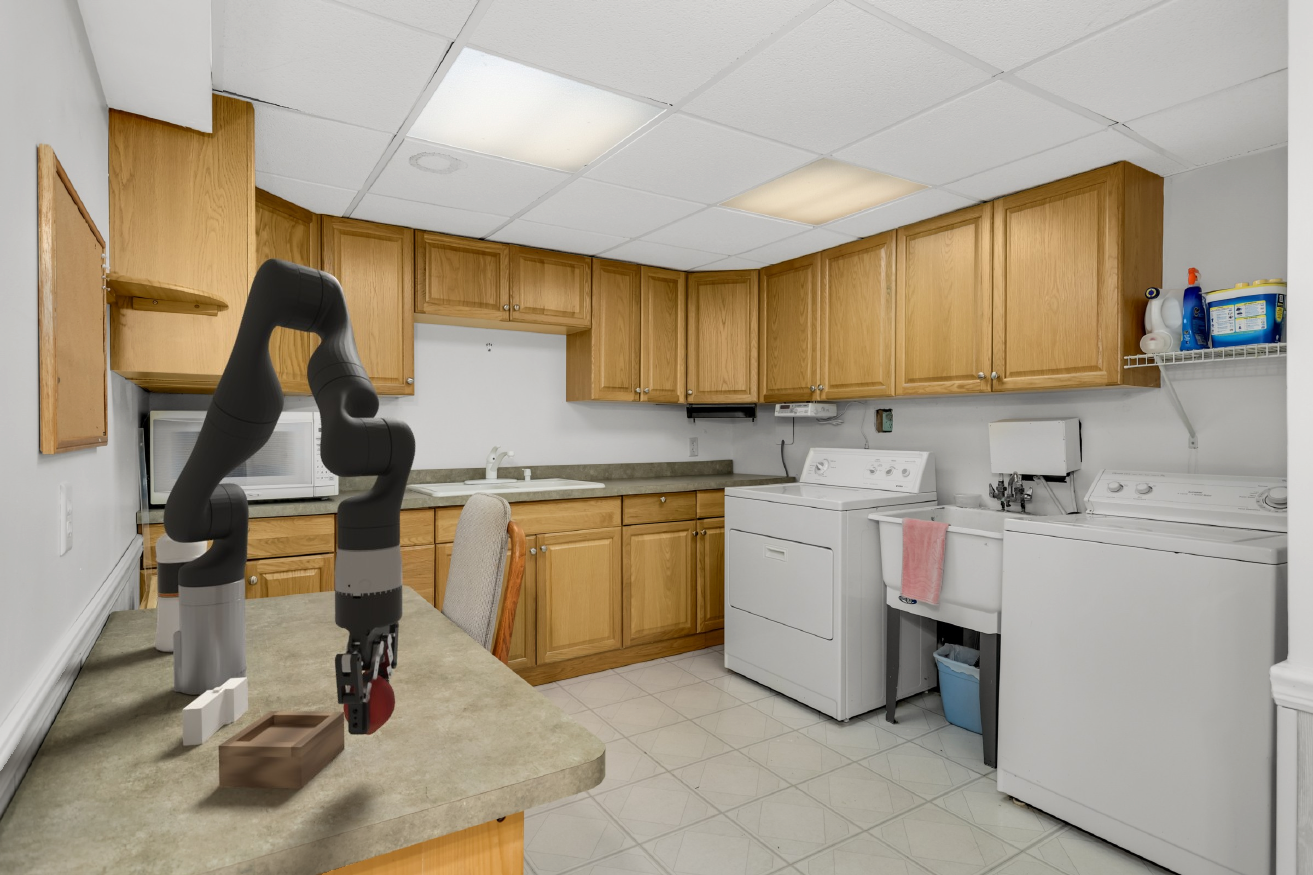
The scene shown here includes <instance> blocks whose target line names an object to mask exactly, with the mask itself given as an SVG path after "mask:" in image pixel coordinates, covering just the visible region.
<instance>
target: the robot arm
mask: <svg viewBox="0 0 1313 875" xmlns="http://www.w3.org/2000/svg"><path fill="white" fill-rule="evenodd" d="M341 285H342V284H340V282H339V280H338V279H337V278H336V277H335V276H334V275H333V274H330V273H329V272H326V271H325V270H320V269H317V268H314V267H309V266H306V265H302V264H298V263H294V262H292V261H289V260H288V261H287V260H284V259H279V258H269V259H266V260H265V261H263V263H262V264H261V265H260V267H259V268H258V270H256V273H255V275H254V277H253V281H252V283H251V286H250V289H249V293H248V296H247V298H246V299H247V300H246V303H245V306H244V310H243V314H242V316H241V321H240V325H239V327H238V331H237V334H236V337H235V338H236V339H235V342H234V345H233V348H232V349H231V352H230V355H229V358H228V360H227V363H226V366H225V367H224V371H223V373H222V375H221V377H220V379H219V382H218V384H217V386H216V388H215V391H214V393H213V395H212V398H211V401H210V403H209V405H208V409H207V412H206V414H205V416H204V421H203V424H202V426H201V429H200V430H199V434H198V436H197V439H196V440H195V444H194V446H193V448H192V450H191V453H190V454H189V456H188V459H187V461H186V463H185V465H184V467H183V469H182V470H181V472H180V474H179V476H178V478H177V479H176V481H175V482H174V484H173V486H172V489H171V490H170V493H169V495H168V497H167V500H166V502H165V506H164V511H163V512H164V513H163V518H162V519H163V520H162V521H163V527H164V531H165V533H166V534H167V535H168V536H169V538H171V539H172V540H173V541H176V542H180V543H194V542H202V541H207V542H208V541H209V542H210V541H212V544H211V546H210V547H209V548H208V550H206V552H205V553H204V554H203V555H201V556H200V557H198V558H196V559H195V560H193V561H191V562H189V563H187V564H185V565H183V566H182V567H181V568H180V569H179V572H178V584H179V585H178V586H179V630H178V631H176V632H175V633H174V634H173V652H172V653H173V654H172V655H173V691H174V692H180V693H183V694H187V695H202V694H203V693H205V692H206V691H207V690H213V689H215V688H216V687H220V686H221V685H223V684H224V683H225V682H227V681H228V680H229V679H230V678H244V677H247V670H248V669H247V640H246V638H247V630H246V629H247V628H246V625H247V624H246V582H245V581H246V580H245V579H246V578H245V577H246V576H245V573H246V572H245V571H246V570H245V569H246V565H247V561H248V544H249V542H248V540H249V539H248V538H249V516H250V515H249V514H250V513H249V502H248V498H247V495H246V492H245V491H244V489H243V488H242V487H241V486H240V485H238V484H236V483H234V482H233V483H231V482H229V483H227V482H226V483H224V482H223V483H221V482H222V481H223V479H224V478H225V477H227V475H229V474H230V473H231V472H233V471H234V470H235V469H237V468H238V467H239V466H241V465H242V464H243V463H245V462H247V460H249V459H250V458H252V457H253V456H254V455H255V454H257V452H259V451H260V449H262V448H263V447H264V446H265V445H266V444H267V443H268V442H269V440H270V439H271V436H272V435H273V433H274V430H275V429H276V426H277V424H278V421H279V420H280V416H281V414H282V412H283V410H284V406H285V398H284V392H283V389H282V386H281V383H280V380H279V377H278V375H277V372H276V370H275V368H274V364H273V361H272V358H271V353H270V349H269V348H270V341H271V336H272V333H273V331H274V330H275V328H276V327H279V328H284V329H289V330H294V331H298V332H304V333H313V334H314V333H315V334H316V335H317V336H318V337H319V338H320V339H321V342H320V344H319V345H317V347H316V349H315V350H314V351H313V353H312V355H310V358H309V360H308V364H307V366H306V368H307V369H306V370H307V371H306V378H307V382H308V386H309V388H310V391H311V394H312V396H313V399H314V401H315V404H316V406H317V409H318V410H319V416H320V418H319V419H320V443H319V444H320V445H319V452H320V454H319V455H320V456H319V457H320V459H321V462H322V464H323V466H324V467H325V468H326V469H327V471H329V472H330V473H332V474H333V475H335V476H336V477H341V478H359V477H375V476H376V477H377V478H376V479H375V482H374V484H373V485H372V487H371V488H370V489H369V490H367V491H366V492H363V493H361V494H359V495H355V496H351V497H348V498H345V499H343V500H341V501H340V502H339V504H338V507H337V511H336V528H337V529H336V534H337V535H336V537H337V538H336V540H337V541H336V542H337V543H336V556H335V557H336V558H335V563H334V621H335V622H334V623H335V625H336V626H338V627H339V628H341V629H345V630H347V632H348V633H349V635H348V640H347V644H346V648H345V653H337V654H336V655H335V657H334V667H335V668H334V669H335V681H336V694H337V704H339V705H344V704H348V722H347V726H348V727H347V728H348V730H347V731H348V733H349V734H350V735H353V736H354V735H357V736H358V735H359V736H360V735H361V736H362V735H366V733H367V732H368V731H369V729H370V701H369V699H370V691H371V685H372V682H374V681H375V680H376V679H377V675H379V676H381V677H382V678H384V679H385V680H386V681H387V682H388V683H389V684H390V679H392V676H393V670H395V669H396V668H397V666H398V648H399V645H398V644H399V627H400V624H399V621H400V620H402V619H403V618H402V617H403V559H402V551H401V510H402V505H403V500H404V496H405V492H406V487H407V484H408V480H409V478H410V477H409V476H410V474H411V471H412V468H413V464H414V460H415V456H416V438H415V436H414V432H413V430H412V429H411V427H410V425H408V423H407V422H405V421H404V420H403V419H401V418H397V417H376V416H377V414H378V412H379V408H380V400H379V396H378V394H377V392H376V389H375V387H374V385H373V383H372V381H371V379H370V377H369V374H368V373H367V370H366V368H365V367H364V365H363V363H362V360H361V358H360V355H359V353H358V352H359V351H358V348H357V345H356V344H357V343H356V339H355V334H354V329H353V325H352V321H351V320H352V319H351V315H350V312H349V308H348V304H347V299H346V295H345V292H344V289H343V287H342V286H341ZM365 671H369V672H368V673H367V674H363V672H365ZM363 681H364V687H363ZM354 688H355V692H354Z"/></svg>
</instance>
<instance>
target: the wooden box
mask: <svg viewBox="0 0 1313 875" xmlns="http://www.w3.org/2000/svg"><path fill="white" fill-rule="evenodd" d="M345 747H346V746H345V715H344V711H323V710H321V711H318V710H317V711H312V710H310V711H309V710H307V711H306V710H304V711H303V710H300V711H299V710H298V711H297V710H293V711H292V710H269V711H268V712H266V713H264V715H262V716H260V717H259V718H257V719H256V720H254V721H253V722H252V723H250V724H249V725H247V726H246V727H245V728H243V729H241V730H240V731H239V732H237V733H235V734H234V735H232V736H231V737H229V738H227V740H225V741H223V742H222V743H221V744H219V745H218V783H219V784H218V785H219V786H218V787H219V788H244V789H247V788H249V789H251V788H252V789H255V788H258V789H303V788H304V787H305V786H306V785H307V784H308V783H310V781H312V780H313V779H314V778H315V777H316V776H317V775H318V774H320V772H321V771H322V770H323V769H325V768H326V767H327V766H328V765H329V764H330V763H331V762H332V761H334V759H336V757H338V755H340V754H341V753H342V752H343V751H344V750H346V749H345Z"/></svg>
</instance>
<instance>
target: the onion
mask: <svg viewBox="0 0 1313 875" xmlns="http://www.w3.org/2000/svg"><path fill="white" fill-rule="evenodd" d="M368 672H369V671H362V674H367V673H368ZM363 687H364V681H363ZM354 692H355V688H354ZM369 701H370V729H369V731H368V732H367V733H366V734H365V735H367V736H370V735H374V734H375V733H376V732H377V731H378V730H380V728H381V727H383V726H384V725H385V724H387V722H388V721H389V719H390V718H391V717H392V715H393V712H394V710H395V706H396V696H395V691H394V688H393V686H392V684H390V682H389V683H388V682H387V681H386V680H385V679H384V678H382V677H381V676H379V675H377V679H376V680H375V681H374V682H372V685H371V691H370V699H369ZM342 707H343V712H344V719H345V720H346V722H347V723H348V704H343V706H342Z"/></svg>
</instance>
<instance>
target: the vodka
mask: <svg viewBox="0 0 1313 875" xmlns="http://www.w3.org/2000/svg"><path fill="white" fill-rule="evenodd" d="M154 548H155V556H156V557H155V561H156V578H157V579H156V582H157V583H156V586H157V588H156V589H157V595H156V596H157V597H156V599H155V600H156V602H157V604H156V605H157V621H156V633H155V636H154V648H155V649H156V650H158V651H159V652H164V653H173V634H174V633H175V632H176V631H178V630H179V586H178V585H179V584H178V572H179V569H180V568H181V567H182V566H183V565H185V564H187V563H189V562H191V561H193V560H195V559H196V558H198V557H200V556H201V555H203V554H204V553H205V552H207V551H208V550H207V549H208V541H202V542H194V543H180V542H176V541H173V540H172V539H171V538H169V536H168V535H167V534H166V532H165V533H164V534H162V535H161V536H159V537H158V538H157V539H156V542H155V547H154Z"/></svg>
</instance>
